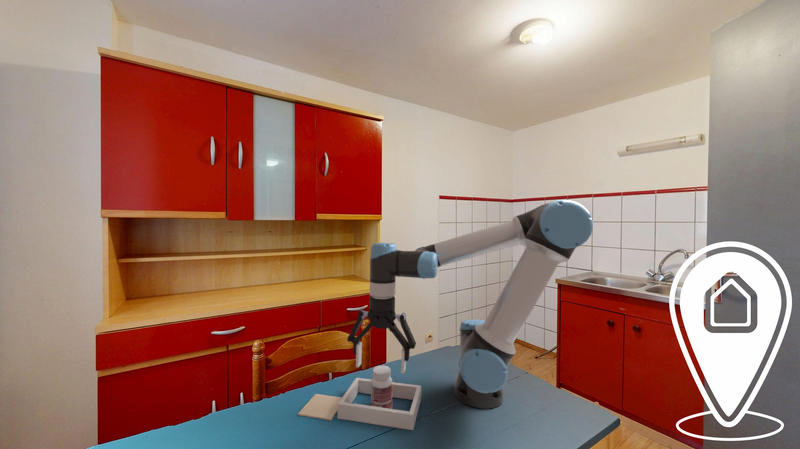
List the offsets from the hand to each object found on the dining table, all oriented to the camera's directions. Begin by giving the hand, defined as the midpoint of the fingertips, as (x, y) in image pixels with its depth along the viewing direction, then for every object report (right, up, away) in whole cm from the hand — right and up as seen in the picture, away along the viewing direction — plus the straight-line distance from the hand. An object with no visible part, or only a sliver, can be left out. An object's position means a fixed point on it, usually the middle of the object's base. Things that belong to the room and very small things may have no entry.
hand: (380, 368), depth 87 cm
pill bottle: (0, -12, 0) cm, 12 cm away
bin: (0, -12, 0) cm, 12 cm away
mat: (-17, -11, 0) cm, 20 cm away
